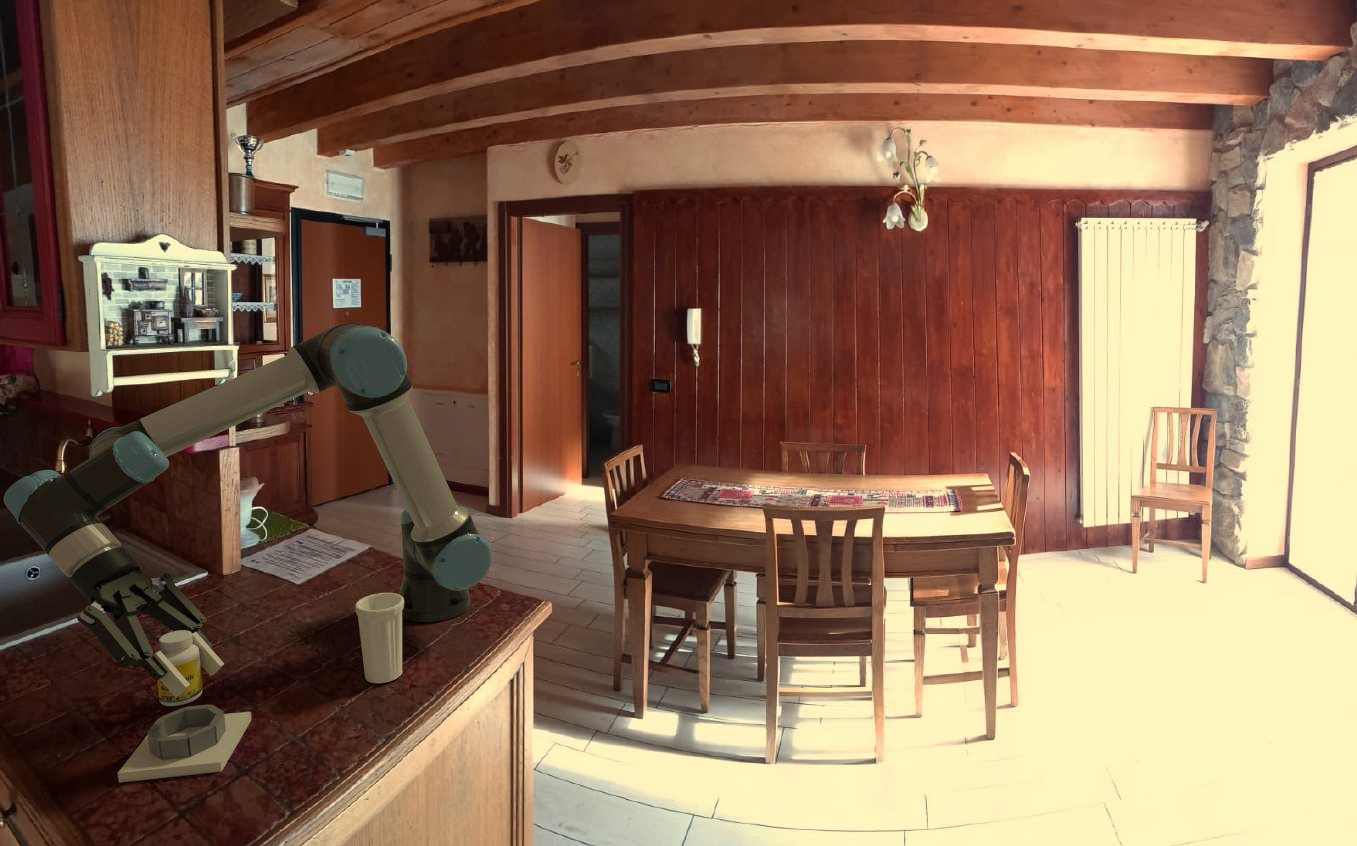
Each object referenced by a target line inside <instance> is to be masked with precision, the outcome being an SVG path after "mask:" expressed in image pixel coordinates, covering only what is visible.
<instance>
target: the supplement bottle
mask: <svg viewBox="0 0 1357 846" xmlns="http://www.w3.org/2000/svg"><path fill="white" fill-rule="evenodd" d="M192 640H193V639H192V633H191V632H190V631H186V630H179V631H171V632H170V631H169V632H167V633H165V634H163V635H161V636H160V637H159V639H158V642H159V643H158V644H159V649H160V651H161V652H162V653H163V654H164V655H165V657H166V658H167V659H168V660H169V661H170V662H171V663H172V665H173V666H174V667H175V668H176V669H177V670H178V671H179V672H180V674H181V675H182V676H183V677H184V678H185V679H186V680H187V682H188V683H189V684H190V686H189V687H188V688H187V689H186V690H185V691H184V692H183V693H182V694H181V695H180V696H178V697H175V696H174V695H173V694H172V693H171V692H170V691H169V689H168V688H167V687H166V686H165V685H164V684H163V683H162V682H161V680H160V679H159V680H157V681H156V682H157V683H156V684H157V690H158V693H157V694H158V699H159V703H160V704H162V705H163V706H165V707H166V706H167V707H174V706H175V707H176V706H182V705H186V704H188V703H192V702H193V701H196V700H197V699H199V697H200V696H201V695H202V694H203V678H202V669H201V667H202V666H201V665H200V655H199V649H198V647H197V646H196V645H194V644H192V642H193V641H192Z"/></svg>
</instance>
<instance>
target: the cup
mask: <svg viewBox="0 0 1357 846" xmlns="http://www.w3.org/2000/svg"><path fill="white" fill-rule="evenodd" d="M403 608H404V598H403V597H402V596H400V595H399V593H395V592H379V593H373V594H370V595H366V596H364V597H362V598H360V599H359V600H358V601H357V602H356V603H355V613H356V615H357V619H358V620H357V621H358V627H359V638H360V644H361V653H362V662H363V663H362V664H363V670H364V680H366V681H367V682H368V683H372V684H385V683H389V682H392V681H394V680H396V679H398V678H399V677H400V676H401V675H402V674H403V618H402V610H403Z"/></svg>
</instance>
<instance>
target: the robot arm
mask: <svg viewBox="0 0 1357 846" xmlns="http://www.w3.org/2000/svg"><path fill="white" fill-rule="evenodd" d="M406 355H407V354H405V350H404V348H403V347H402V345H401V343H400V342H398V340H396V339H395V338H394V337H393V336H392V335H391V334H390V333H388V332H386V331H385V330H382V329H381V328H378V327H375V326H371V325H362V324H359V323H351V322H347V323H341V324H336V325H334V326H331V327H330V328H327V329H326V330H323V331H321V332H320V333H318V334H315V335H314V336H311V337H310V338H308V339H306V340H303V341H302V342H300V343H299V342H298V343H297V344H294V345H292V346H290V347H289V349H288V352H287V354H286V355H284V356H281V357H280V358H277V359H275V360H273V361H271V362H268V363H266V364H265V363H264V364H263V365H261V366H258V367H257V368H254V369H252V370H249V371H247V372H245V373H242V374H240V375H238V376H236V377H234V378H231V379H228V380H227V381H224V382H222V383H220V384H218V385H216V386H215V385H214V386H213V387H210V388H208V389H205V390H203V391H201V392H199V393H196V394H194V395H192V396H189V397H187V398H186V399H183V400H181V401H179V402H176V403H173V404H171V405H168V406H167V407H165V408H162V409H159V410H158V411H155V412H154V413H151V414H148V415H146V416H144V417H141V418H140V419H138V420H135V421H132V422H130V423H128V424H125V425H123V426H121V427H119V426H117V427H111V428H108V429H105V430H103V431H102V432H100V433H99V434H97V436H96V437H95V438H93V440H92V442H91V444H90V446H89V450H88V455H89V456H88V457H89V458H88V459H86V460H85V461H83V462H81V463H79V465H77V466H75V467H74V468H73V469H71V470H69V471H67V472H66V473H63V474H60V473H59V472H57V471H55V470H52V469H44V470H38V471H36V472H34V473H32V474H30V475H28V476H27V475H26V476H24V477H22V478H20V479H18V480H16V481H15V482H14V483H13V484H12V485H11V486H10V487H9V488H7V489H6V491H5V493H4V496H3V503H4V505H5V506H6V507H7V509H8V510H9V511H10V513H11V514H12V516H13V517H14V518H15V520H16V522H17V524H18V525H19V526H21V527H22V528H23V529H24V531H25V532H27V534H29V535H30V537H32V539H33V540H34V541H35V542H36V543H37V545H39V546H40V548H41V549H42V550H43V551H44V552H45V553H46V555H47V556H48V557H49V558H50V559H51V561H53V563H54V564H55V565H56V566H57V567H58V568H59V569H60V571H62V573H63V574H64V575H65V576H66V577H68V578H69V577H71V579H70V582H71V583H72V584H73V586H74V587H75V588H76V589H77V590H78V592H79V593H80V594H81V595H82V596H83V597H85V599H89V600H90V604H89V605H86V606H85V608H84V609H83V610H82V611H81V612H80V613H79V615H78V616H77V617H76V620H77V621H78V622H79V623H80V624H82V625H83V626H86V627H88V628H89V629H90V630H91V632H92V633H93V634H94V635H95V636H96V637H97V639H98V640H99V641H100V643H101V644H102V645H103V646H104V647H105V648H106V650H107V651H108V653H110V654H111V656H112V657H113V658H114V659H115V661H116V662H117V664H119V666H120V667H121V668H124V669H127V668H129V667H130V666H132V667H133V668H135V669H139V668H141V667H142V668H143V670H145V672H147V674H148V675H149V676H150V677H151V679H152V680H154V681H156V682H157V680H159V679H160V680H161V682H162V683H163V684H164V685H165V686H166V687H167V688H168V689H169V691H170V692H171V693H172V694H173V695H174V696H175V697H178V696H180V695H181V694H182V693H183V692H184V691H185V690H186V689H187V688H188V687H189V686H190V684H189V683H188V682H187V680H186V679H185V678H184V677H183V676H182V675H181V674H180V672H179V671H178V670H177V669H176V668H175V667H174V666H173V665H172V663H171V662H170V661H169V660H168V659H167V658H166V657H165V655H164V654H163V653H162V652H161V650H159V651H157V652H155V653H154V651H153V650H154V649H153V648H152V646H151V644H150V642H149V640H148V638H147V635H146V634H145V631H144V629H143V627H142V625H141V623H140V621H139V618H138V617H137V612H141V613H142V614H143V615H146V616H147V615H149V616H150V617H152V618H154V619H155V620H156V621H159V623H161V624H163V625H164V626H165V627H167V628H168V629H169V630H171V631H172V632H174V631H179V630H186V631H190V632H191V633H192V639H193V640H192V641H193V642H192V644H194V645H196V646H197V647H198V649H199V655H200V666H201V667H202V668H203V669H204V670H205V672H206V673H207V674H208V675H209V676H210V677H212V676H214V675H215V674H217V672H219V670H221V668H222V667H223V666H224V665H225V662H224V661H223V660H222V659H221V658H220V657H219V656H218V655H217V654H216V653H215V651H214V650H213V649H212V648H213V645H212V643H211V641H209V639H208V638H207V637H206V635H204V633H202V631H201V628H203V626H204V624H205V623H206V622H207V617H206V616H205V615H204V614H203V613H202V612H201V610H200V609H198V608H197V606H196V605H194V603H193V602H192V601H191V600H190V599H189V598H188V597H187V595H185V594H184V593H183V592H182V590H181V589H180V588H178V586H177V585H176V584H175V582H174V579H173V577H172V575H171V574H170V573H163V574H162V575H161V577H160V576H159V577H153V578H151V576H149V575H147V574H145V573H144V572H142V571H141V569H140V566H139V562H138V561H137V560H136V559H135V557H133V555H131V553H130V552H129V551H128V550H127V549H126V548H125V547H121V546H122V543H121V542H120V541H119V539H118V538H117V537H116V536H115V535H114V534H113V533H112V532H111V530H109V528H108V527H107V526H106V525H105V524H104V522H102V521H101V520H100V518H99V517H98V516H99V515H101V514H102V513H104V512H105V511H107V510H109V508H111V507H113V506H114V505H116V504H117V503H120V501H122V500H123V499H125V498H127V497H128V496H130V495H131V494H133V493H135V492H136V491H138V490H139V489H140V488H142V487H143V486H145V485H147V484H149V483H152V482H153V481H154V480H155V479H156V478H157V477H158V476H160V475H161V474H163V473H164V472H165V471H166V470H168V469H169V467H170V461H169V459H168V458H167V457H170V456H172V455H174V454H177V453H179V452H181V451H183V450H185V449H187V448H190V447H192V446H193V445H196V444H198V443H200V442H202V441H204V440H205V441H206V439H209V438H210V437H211V438H212V437H214V436H215V435H217V434H220V433H221V432H224V431H226V430H229V429H230V428H233V427H235V426H237V425H239V424H241V423H244V422H245V421H246V422H247V421H248V420H251V419H252V418H254V417H256V416H259V415H261V414H263V413H265V412H268V411H270V410H272V409H274V408H276V407H278V406H281V405H282V404H283V405H284V404H285V403H287V402H289V401H291V400H294V399H296V398H298V397H300V396H303V395H304V394H306V393H313V394H317V395H318V394H320V393H322V392H324V391H327V390H329V389H332V388H335V387H337V388H338V391H339V392H340V395H341V397H342V398H343V401H344V403H345V405H346V407H347V409H348V411H349V413H352V414H355V415H357V416H361V417H362V419H363V421H364V423H365V425H366V427H367V429H368V431H369V433H370V435H371V438H372V440H373V441H374V444H375V445H376V448H377V450H378V451H379V454H380V456H381V458H382V461H383V462H384V464H385V467H386V469H387V470H388V473H389V475H390V477H391V479H392V481H393V483H394V485H395V487H396V489H397V491H398V493H399V495H400V497H401V500H402V502H403V504H404V506H405V507H406V508H405V509H403V511H402V512H401V523H400V524H399V525H400V527H401V542H402V544H401V545H402V559H403V560H402V561H403V579H402V582H401V584H400V589H399V592H398V594H399V595H400V596H402V597H403V598H404V608H403V610H402V620H406V621H408V622H415V623H434V622H435V623H436V622H440V621H446V620H450V619H454V618H456V617H458V616H460V615H462V614H463V613H465V612H467V610H468V609H469V608H470V606H471V595H470V592H469V589H470V588H472V587H474V586H476V585H478V584H479V583H480V582H481V581H482V580H483V579H484V578H485V577H486V575H487V574H488V573H489V569H490V567H491V565H492V563H493V550H492V548H491V545H490V544H489V542H488V540H487V539H486V538H485V537H484V536H482V535H481V534H480V533H479V531H478V529H477V527H476V524H475V523H474V519H473V517H472V516H471V514H470V512H469V509H468V508H467V507H464V506H460V505H457V503H456V500H455V498H454V495H453V494H452V491H451V489H450V487H449V485H448V482H447V480H446V478H445V475H444V473H443V471H442V468H441V467H440V465H439V463H438V460H437V458H436V456H435V454H434V451H433V449H432V447H431V445H430V442H429V440H428V438H427V436H426V433H425V432H424V431H425V430H424V429H423V427H422V425H421V422H420V420H419V418H418V416H417V414H416V411H415V409H414V407H413V405H412V403H411V399H410V398H409V397H410V394H411V392H412V390H413V387H414V386H413V384H412V381H411V379H410V377H409V374H408V373H407V369H408V359H407V356H406ZM106 613H107V614H110V616H111V618H112V619H111V618H110V617H109V616H108V615H107V614H106ZM118 627H119V628H118Z"/></svg>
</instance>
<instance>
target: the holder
mask: <svg viewBox="0 0 1357 846" xmlns="http://www.w3.org/2000/svg"><path fill="white" fill-rule="evenodd" d="M251 721H252V712H251V711H243V712H232V713H231V712H230V713H225V711H224V710H222V709H220V708H218V707H217V706H216V705H214V704H203V705H190V706H186V707H182V708H179V709H177V710H174V711H172V712H169V713H167V714H165V715H163V716H161V717H159V718H157V720H155V722H154V723H153V725H151V727H150V728H149V729H148V730H147V735H146V736H145V738H144V739H143V740H142V741H141V743H140V744H139V745H138V747H137V748H136V749H135V750H134V751H133V753H132V754H131V755H130V756H129V758H128V759H127V760H126V761H125V763H124V764H123V766H122V767H121V768H120V769H119V771H118V772H117V779H118V783H126V782H127V783H128V782H136V781H137V782H138V781H144V780H146V781H147V780H155V779H164V778H173V777H183V776H191V775H192V776H193V775H200V774H201V775H202V774H209V773H210V774H211V773H218V772H219V773H221V772H222V771H223V770H224V768H225V766H226V764H227V762H229V761H228V760H230V758H231V756H232V755H233V752H234V751H235V749H236V747H237V746H238V744H239V743H240V741H241V739H242V737H243V735H244V733H245V732H246V730H247V728H248V727H249V725H250V723H251Z"/></svg>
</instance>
